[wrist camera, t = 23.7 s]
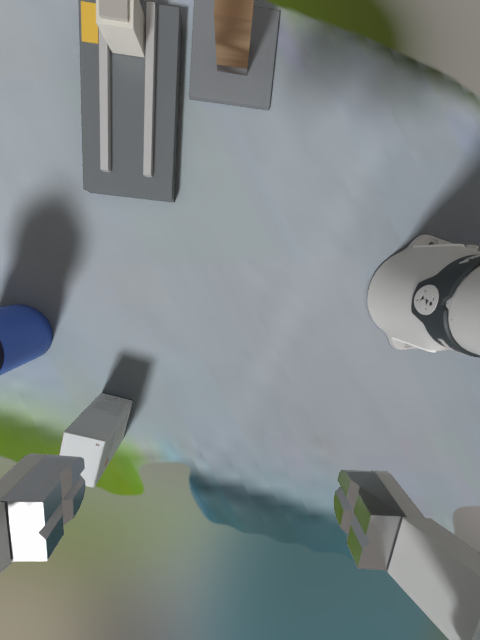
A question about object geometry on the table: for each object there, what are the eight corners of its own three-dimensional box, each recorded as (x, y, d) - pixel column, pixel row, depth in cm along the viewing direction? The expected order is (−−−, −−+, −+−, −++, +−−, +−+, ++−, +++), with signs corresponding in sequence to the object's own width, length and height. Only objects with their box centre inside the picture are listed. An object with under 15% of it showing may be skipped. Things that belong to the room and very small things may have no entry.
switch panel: (182, 22, 33) (177, 0, 31) (174, 202, 38) (170, 197, 35) (87, 7, 33) (74, -17, 30) (91, 192, 37) (80, 187, 34)
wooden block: (249, 40, 34) (256, -29, 26) (246, 75, 34) (252, 19, 27) (219, 35, 33) (216, -36, 25) (217, 71, 34) (213, 13, 26)
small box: (101, 391, 44) (62, 430, 33) (134, 400, 44) (105, 440, 34) (92, 431, 45) (52, 480, 35) (123, 438, 46) (93, 489, 35)
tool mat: (278, 14, 34) (279, 10, 33) (268, 110, 36) (269, 107, 35) (194, 1, 33) (194, -4, 32) (189, 99, 35) (189, 96, 35)
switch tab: (145, 19, 31) (132, -20, 27) (144, 57, 32) (131, 25, 28) (112, 13, 31) (93, -27, 27) (112, 52, 32) (94, 19, 28)
